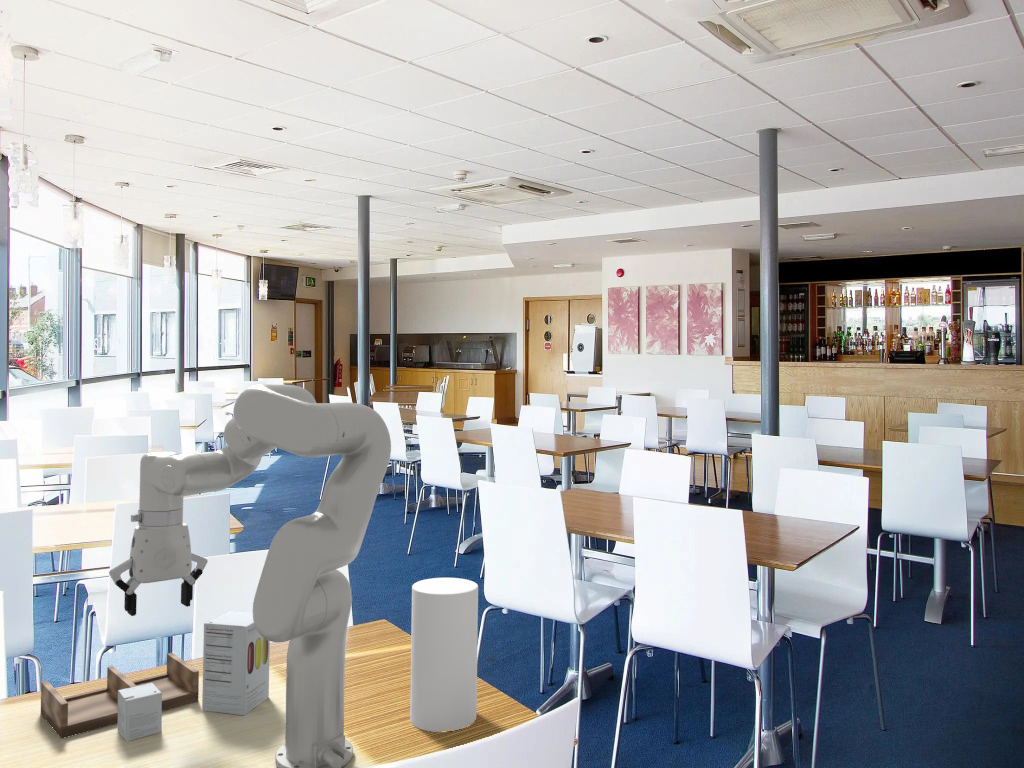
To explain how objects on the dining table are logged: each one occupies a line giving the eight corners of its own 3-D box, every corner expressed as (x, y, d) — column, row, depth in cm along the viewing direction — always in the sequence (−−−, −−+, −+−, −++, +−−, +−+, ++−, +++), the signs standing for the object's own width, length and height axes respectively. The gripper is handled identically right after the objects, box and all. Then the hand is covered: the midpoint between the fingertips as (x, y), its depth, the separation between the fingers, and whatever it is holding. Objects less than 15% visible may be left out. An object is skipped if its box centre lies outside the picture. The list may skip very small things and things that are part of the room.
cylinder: (489, 714, 148) (491, 583, 148) (449, 738, 138) (451, 598, 138) (438, 699, 155) (439, 574, 155) (396, 721, 144) (398, 587, 145)
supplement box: (244, 716, 146) (245, 626, 146) (200, 711, 148) (201, 623, 148) (270, 696, 155) (271, 612, 155) (228, 692, 157) (229, 609, 157)
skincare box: (152, 721, 143) (152, 681, 143) (162, 733, 138) (162, 691, 138) (116, 730, 139) (116, 689, 139) (125, 742, 135) (125, 700, 135)
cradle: (198, 701, 152) (198, 670, 152) (61, 738, 135) (61, 704, 136) (171, 681, 162) (171, 652, 162) (40, 713, 146) (41, 681, 146)
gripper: (116, 526, 137) (114, 623, 137) (214, 516, 148) (212, 606, 148) (105, 520, 142) (103, 613, 142) (200, 511, 154) (198, 597, 154)
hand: (159, 609), depth 145 cm, fingers open, 9 cm apart
